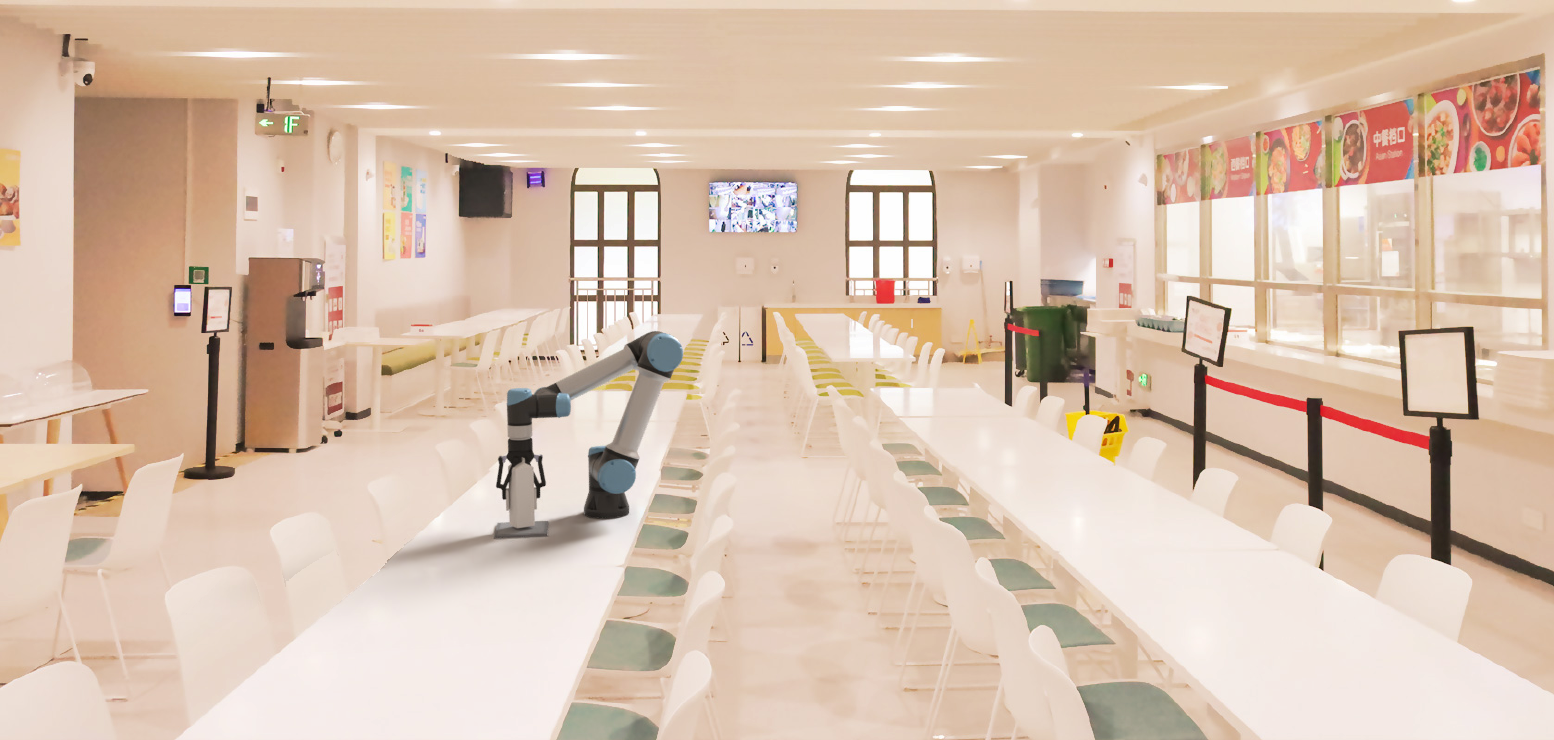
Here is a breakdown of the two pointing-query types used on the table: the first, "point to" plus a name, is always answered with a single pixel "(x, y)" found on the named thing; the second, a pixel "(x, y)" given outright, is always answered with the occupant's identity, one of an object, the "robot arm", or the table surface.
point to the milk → (521, 495)
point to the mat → (521, 530)
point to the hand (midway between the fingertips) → (521, 509)
